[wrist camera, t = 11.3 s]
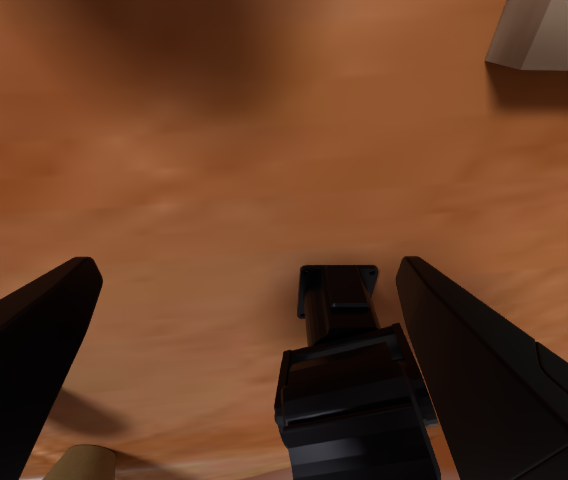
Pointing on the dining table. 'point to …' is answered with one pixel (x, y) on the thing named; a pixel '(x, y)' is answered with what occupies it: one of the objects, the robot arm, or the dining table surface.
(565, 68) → the grayish brown panel
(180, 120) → the dining table surface
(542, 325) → the dining table surface
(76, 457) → the plant pot
